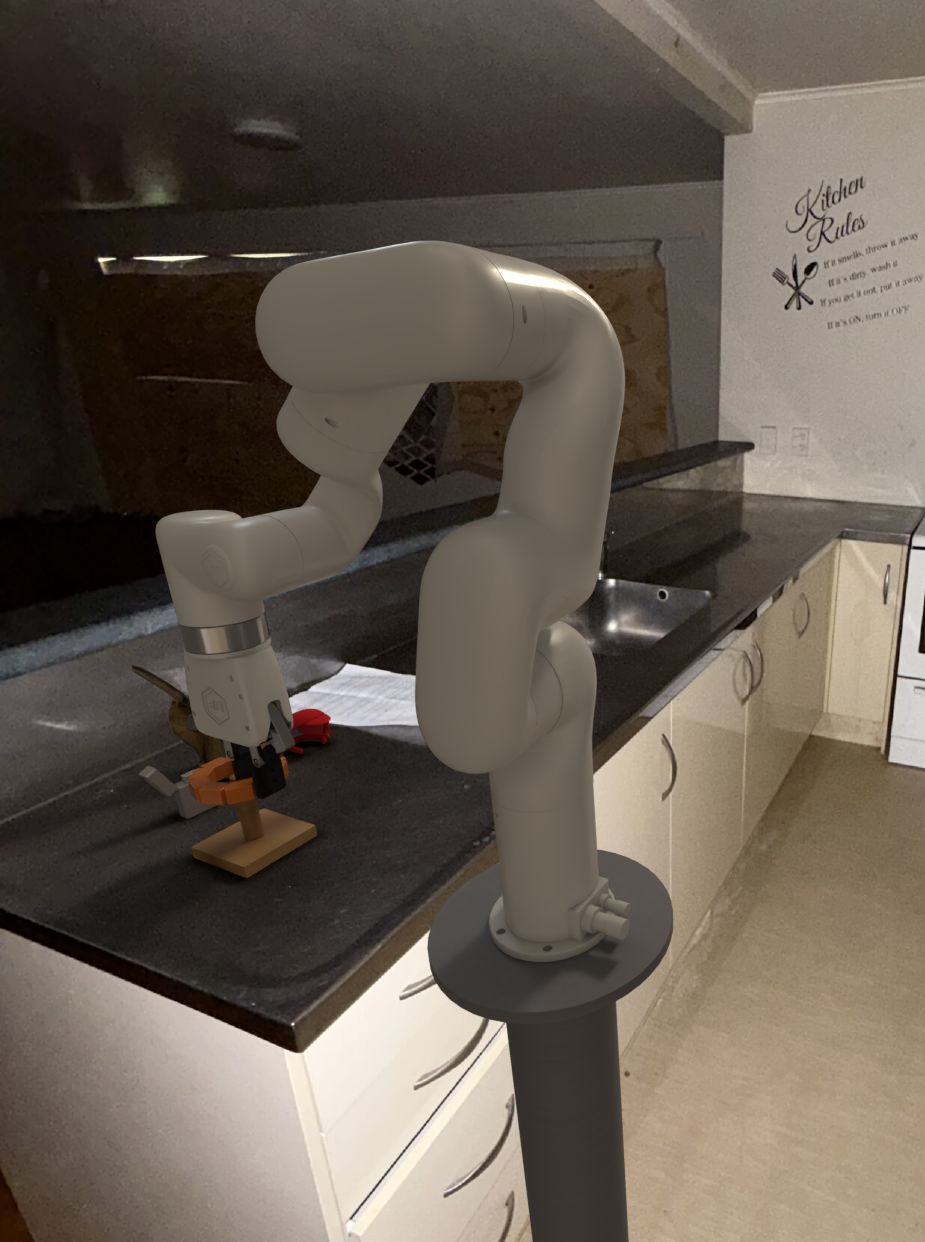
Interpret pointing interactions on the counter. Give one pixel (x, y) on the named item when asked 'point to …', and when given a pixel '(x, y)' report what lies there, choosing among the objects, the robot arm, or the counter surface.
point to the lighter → (175, 791)
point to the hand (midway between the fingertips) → (262, 788)
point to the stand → (253, 840)
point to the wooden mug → (178, 714)
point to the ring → (222, 783)
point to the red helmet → (310, 726)
